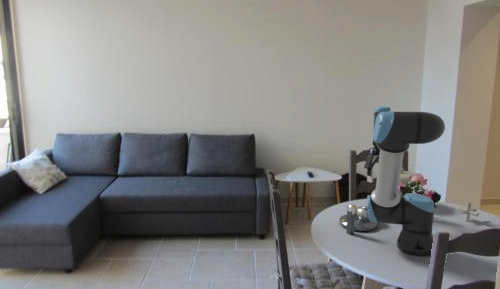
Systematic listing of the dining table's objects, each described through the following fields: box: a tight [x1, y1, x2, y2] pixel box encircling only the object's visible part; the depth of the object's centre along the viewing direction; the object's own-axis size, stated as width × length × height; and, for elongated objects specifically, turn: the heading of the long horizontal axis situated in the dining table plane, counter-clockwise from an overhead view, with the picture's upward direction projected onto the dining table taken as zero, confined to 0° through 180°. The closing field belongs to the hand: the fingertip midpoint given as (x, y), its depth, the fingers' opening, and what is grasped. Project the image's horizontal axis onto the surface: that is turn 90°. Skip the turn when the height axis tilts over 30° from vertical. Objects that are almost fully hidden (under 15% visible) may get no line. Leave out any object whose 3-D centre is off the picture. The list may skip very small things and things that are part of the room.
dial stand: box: [345, 204, 356, 236], centre depth 179 cm, size 5×2×14 cm, turn 33°
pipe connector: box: [457, 201, 480, 223], centre depth 191 cm, size 10×10×10 cm
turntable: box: [339, 204, 378, 232], centre depth 190 cm, size 19×18×5 cm
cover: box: [357, 205, 370, 222], centre depth 192 cm, size 8×8×6 cm
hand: (378, 179), depth 193 cm, fingers open, 13 cm apart
